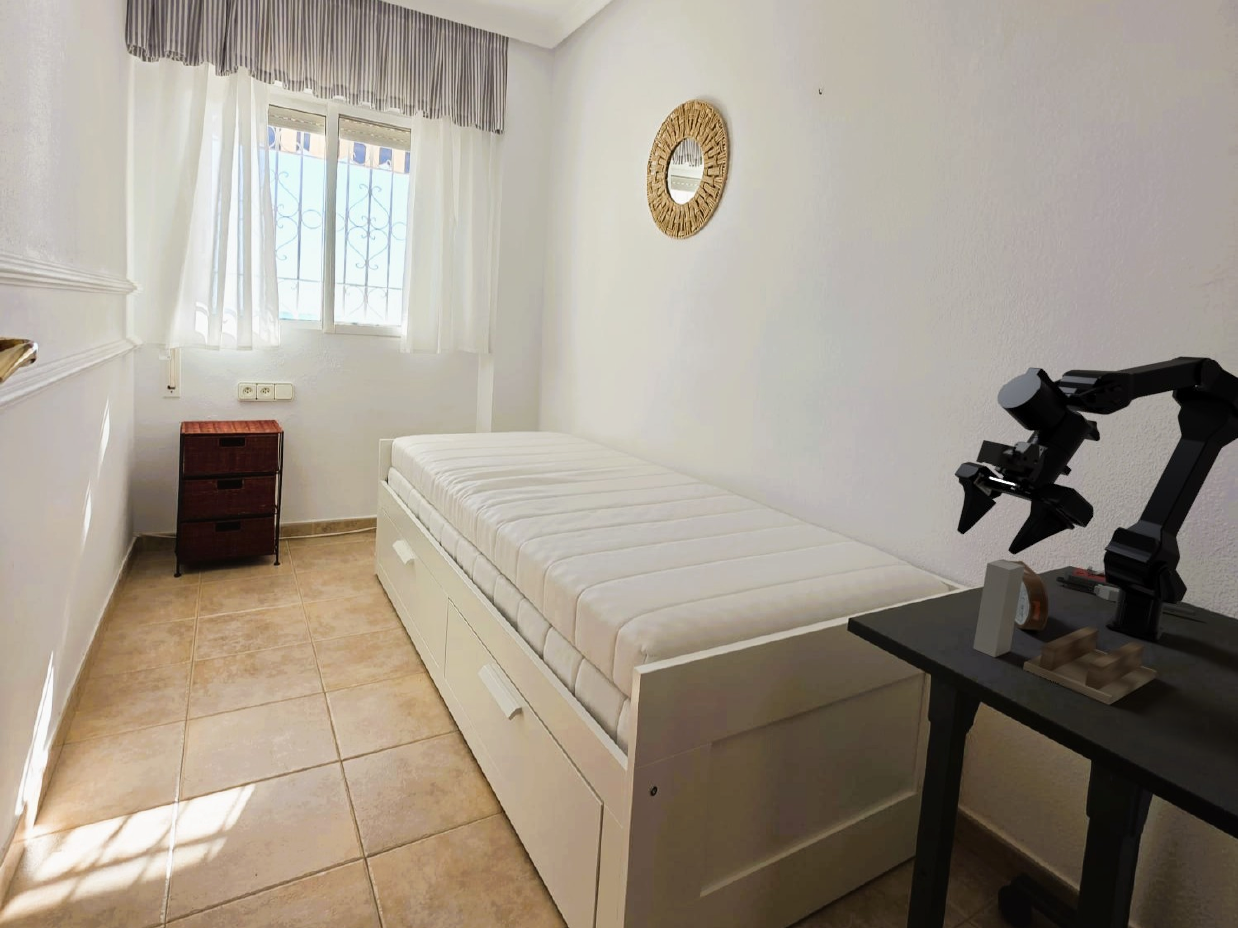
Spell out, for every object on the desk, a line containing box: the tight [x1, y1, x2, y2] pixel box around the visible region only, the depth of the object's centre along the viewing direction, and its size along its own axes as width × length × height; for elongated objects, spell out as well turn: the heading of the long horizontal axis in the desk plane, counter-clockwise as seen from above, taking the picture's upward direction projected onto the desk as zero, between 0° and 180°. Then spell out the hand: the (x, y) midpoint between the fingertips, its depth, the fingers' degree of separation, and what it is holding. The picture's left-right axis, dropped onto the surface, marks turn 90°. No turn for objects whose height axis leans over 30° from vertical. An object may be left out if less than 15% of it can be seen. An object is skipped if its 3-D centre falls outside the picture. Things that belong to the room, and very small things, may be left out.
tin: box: [1009, 560, 1049, 632], centre depth 108 cm, size 15×3×8 cm, turn 168°
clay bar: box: [972, 558, 1025, 658], centre depth 95 cm, size 4×3×12 cm
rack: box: [1022, 625, 1157, 705], centre depth 90 cm, size 14×10×4 cm
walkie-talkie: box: [1055, 565, 1197, 617], centre depth 121 cm, size 9×4×20 cm
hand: (984, 542), depth 95 cm, fingers open, 9 cm apart
